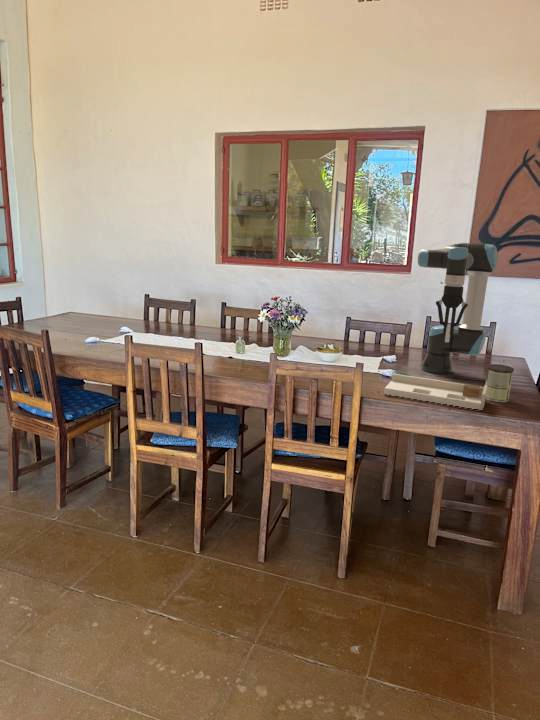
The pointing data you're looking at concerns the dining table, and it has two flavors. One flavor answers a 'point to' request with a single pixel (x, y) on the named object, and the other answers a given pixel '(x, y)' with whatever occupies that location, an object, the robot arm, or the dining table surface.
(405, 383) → the box
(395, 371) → the sunglasses
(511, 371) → the coffee can
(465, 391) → the block
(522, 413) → the dining table surface
